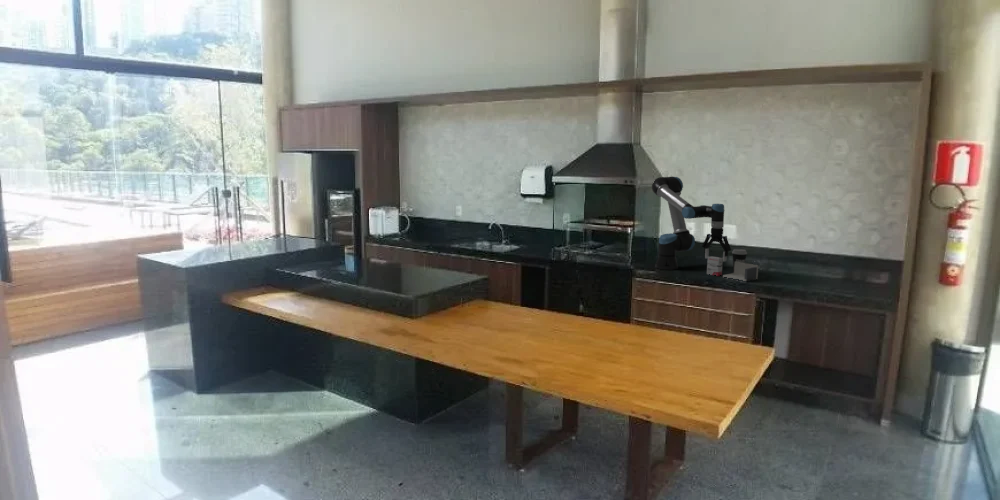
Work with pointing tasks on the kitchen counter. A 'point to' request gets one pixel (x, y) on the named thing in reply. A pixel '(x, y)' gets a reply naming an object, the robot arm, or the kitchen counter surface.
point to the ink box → (714, 266)
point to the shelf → (744, 271)
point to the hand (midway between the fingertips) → (715, 259)
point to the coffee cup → (739, 256)
